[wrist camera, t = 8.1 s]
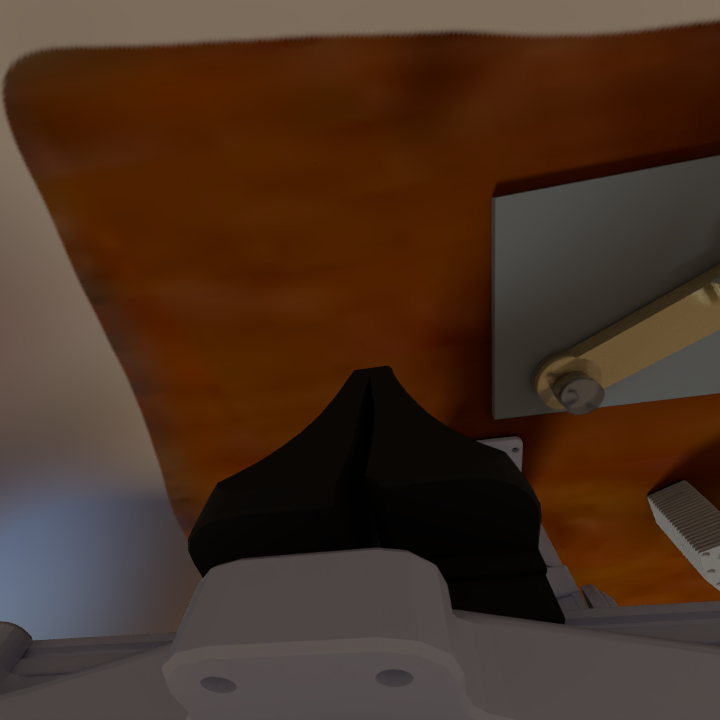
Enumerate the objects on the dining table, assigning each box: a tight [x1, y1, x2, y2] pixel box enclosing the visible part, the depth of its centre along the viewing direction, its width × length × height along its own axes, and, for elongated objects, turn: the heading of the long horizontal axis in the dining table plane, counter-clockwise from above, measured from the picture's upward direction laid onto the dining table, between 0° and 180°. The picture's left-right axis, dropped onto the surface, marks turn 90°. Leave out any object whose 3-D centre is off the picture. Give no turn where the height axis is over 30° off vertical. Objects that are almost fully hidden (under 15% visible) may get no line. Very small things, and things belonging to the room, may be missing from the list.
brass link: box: [532, 264, 720, 409], centre depth 19 cm, size 12×4×1 cm, turn 128°
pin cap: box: [553, 371, 605, 415], centre depth 19 cm, size 2×2×1 cm
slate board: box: [492, 155, 720, 420], centre depth 19 cm, size 14×16×1 cm
